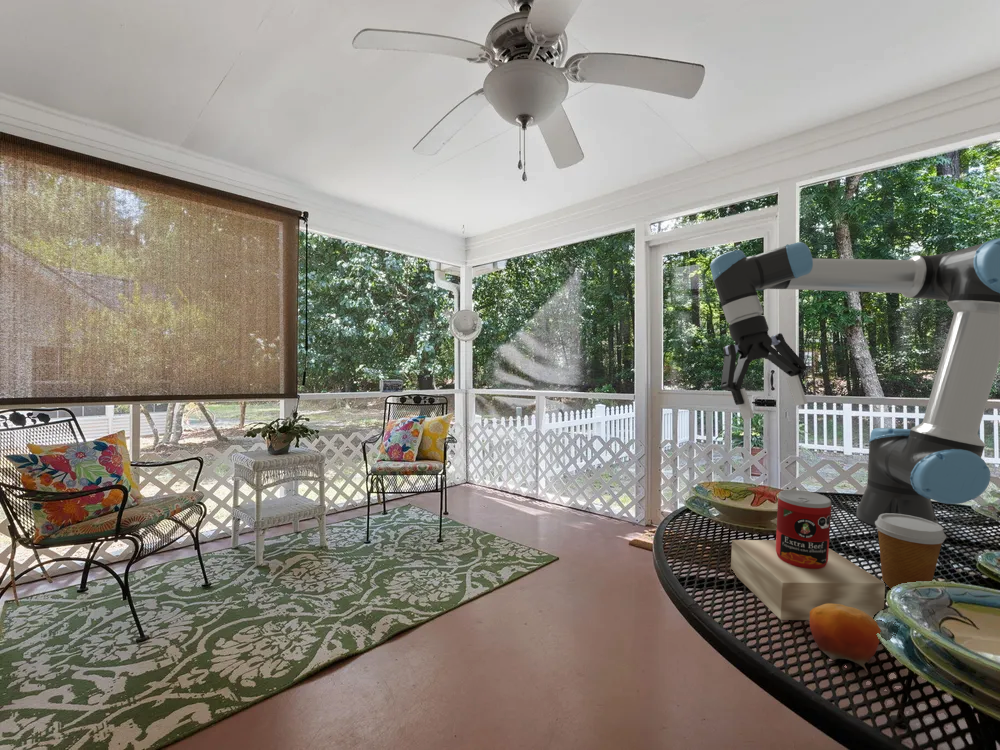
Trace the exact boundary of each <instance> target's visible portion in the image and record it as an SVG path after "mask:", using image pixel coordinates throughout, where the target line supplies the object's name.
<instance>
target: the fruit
mask: <svg viewBox="0 0 1000 750" xmlns="http://www.w3.org/2000/svg"><path fill="white" fill-rule="evenodd" d="M809 628H810V632H811V635H812V637H813V640H814V642H815V644H816V646H817V647H818V650H820V651H821V652H822V653H824V654H825V655H827V657H828V658H830V660H831V662H834V661H836V660H839V659H840V660H848V661H851V662H853V663H854V664H857V665H859V666H861V667H862V668H863V669H864V670H865V672H866V673H867V674H868V669H867V667H866V665H865V664H867V663H868V662H870V660H871V658H873V657H874V656H875V655H876V653H877V650H878V647H879V644H880V642H881V640H880V641H879V639H878V637H877V635H876V634H877V633H879V634H880V632H881V633H882V630H881V628H880V626H879V625H878V623H877V621H875V620H874V619H873V618H872V617H871V616H869V615H868V614H866V613H865V612H864V611H861V610H858V609H856V608H853V607H847V606H844V605H841V604H832V603H830V604H829V603H828V604H823V605H820V606H818V607H815V608H813V609H812V610H811V611H810V620H809Z"/></svg>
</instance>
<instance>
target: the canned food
mask: <svg viewBox="0 0 1000 750" xmlns="http://www.w3.org/2000/svg"><path fill="white" fill-rule="evenodd" d="M776 512H777V514H776V530H775V531H776V535H775V540H776V553H777V556H778V557H779V558H780V559H781V560H783V561H784V562H786V563H788V564H791V565H794V566H797V567H801V568H807V569H819V568H823V567H825V566H826V564H827V562H828V553H829V547H830V535H831V534H830V533H831V520H832V519H831V518H832V499H830V498H829V497H827V495H823V494H820V493H816V492H813V491H808V490H800V489H785V490H781V491H779V492H778V497H777V510H776Z"/></svg>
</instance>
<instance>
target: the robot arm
mask: <svg viewBox="0 0 1000 750" xmlns="http://www.w3.org/2000/svg"><path fill="white" fill-rule="evenodd" d="M709 268H710V271H711V276H712V282H713V284H714V286H715V289H716V292H717V295H718V297H719V300H720V305H721V309H722V311H723V314H724V317H725V320H726V323H727V324H730V325H728V330H729V333H730V335H731V339H732V341H734V343H735V344H732V343H731V344H728V345H726V346H723V348H722V351H723V354H724V358H723V359H724V360H723V366H722V375H721V384H720V389H721V390H727V392H731V394H732V398H733V400H734V404H735V406H738V408H739V410H740V414H741V417H742V420H748V419H749V420H750V419H753V418H755V415H754V413H753V410H752V406H751V403H750V400H749V397H748V394H747V391H746V388H745V387H744V388H742V385H743V383H744V380H745V377H746V375H747V372H748V369H749V367H750V364H751V363H752V362H753V361H757V360H762V359H765V360H768V361H769V362H771V363H772V364H773V365H775V366H776V367H777V368H779V369H780V370H781V371H783V372H784V373H785V374H787V376H788V377H786V378H785V379H786V381H787V384H788V388H789V391H790V393H791V396H792V399H793V403H794V406H795V407H797V406H801V405H802V406H803V405H808V401H807V398H806V395H805V392H804V389H805V385H804V382H803V379H802V376H801V375H802V374H804V371H806V370H807V368H808V367H807V365H806V364H805V363H804V361H803V360H802V359H801V358H800V357H799V356H798V354H797V353H796V352H795V351H794V350H793V349H792V347H790V345H789V344H788V343H787V341H786V340H785V337H784V336H783V334H782V333H780V332H779V333H777V334H774V335H772V336H770V335H769V325H768V323H767V320H766V319H767V318H766V316H765V315H762V314H763V313H764V310H763V307H762V305H761V304H762V303H761V301H760V298H759V295H758V292H757V291H765V290H800V291H801V290H803V291H804V290H805V291H828V292H829V291H830V292H831V291H832V292H857V293H858V292H862V293H890V294H891V293H892V294H893V293H894V294H901V295H903V297H905V298H907V299H923V300H925V299H927V300H936V301H945V302H946V305H947V306H948V307H949V309H950V310H952V312H953V315H952V319H951V323H950V326H949V329H948V333H947V337H946V341H945V343H944V347H943V351H942V354H941V358H940V360H939V364H938V369H937V372H936V373H935V374H936V375H935V378H934V382H933V385H932V387H931V392H930V395H929V398H928V399H929V400H928V401H927V402H928V403H927V405H926V410H925V412H924V415H923V420H922V422H921V423H920V424H917V425H915V426H913V427H911V428H910V429H909V428H890V427H888V428H887V427H876V428H873V429H872V430H871V432H870V437H869V440H868V444H869V445H868V461H867V463H868V464H867V466H868V467H867V469H868V470H867V483H866V487H865V488H866V489H865V491H864V492H863V495H862V497H861V499H860V501H859V503H858V505H857V507H856V518H857V519H859V520H860V521H861V522H864V523H865V524H868V525H870V526H874V527H876V525H875V521H876V520H877V519H878V517H879V515H880V514H885V513H894V514H904V515H910V516H915V517H919V518H923V519H926V520H929V521H932V522H935V523H937V524H939V520H938V518H937V516H936V513H935V509H934V505H933V503H932V501H936V502H938V503H941V504H947V505H960V504H964V503H968V502H969V501H972V500H975V499H977V498H978V497H980V496H981V495H982V494H983V493H984V492H985V491H986V490H987V488H988V487H989V485H990V482H991V470H990V467H989V466H988V465H987V463H986V461H985V460H984V459H983V458H982V456H983V453H984V449H985V447H986V444H985V443H984V442H983V440H982V439H981V438H980V436H979V435H978V433H979V429H980V426H981V423H982V419H983V417H984V414H985V410H986V407H987V402H988V400H989V397H990V394H991V391H992V387H993V384H994V380H995V378H996V377H995V376H996V374H997V371H998V367H999V365H1000V364H999V363H1000V238H999V237H998V238H994V239H991V240H987V241H986V242H983V243H979V244H976V245H973V246H969V247H965V248H961V249H957V250H954V251H949V252H944V253H939V254H931V255H914V256H911V257H910V258H908V259H875V258H874V259H873V258H869V259H867V258H866V259H864V258H861V259H860V258H816V257H813V255H812V252H811V250H810V248H809V246H808V245H807V244H806V243H804V242H803V241H798V242H793V243H790V244H785V245H783V246H780V247H778V248H774V249H770V250H768V251H764V252H762V253H758V254H756V255H755V254H754V255H752V256H751V255H750V256H747V255H745V253H744V251H743V250H740V249H736V250H731V251H727V252H724V253H723V254H720V255H718V256H716V257H715V258H713V259H712V260H711V262H710V265H709ZM772 345H773V346H772ZM737 353H738V354H739V356H738V359H737ZM736 362H737V365H736Z"/></svg>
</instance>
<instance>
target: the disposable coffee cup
mask: <svg viewBox="0 0 1000 750" xmlns="http://www.w3.org/2000/svg"><path fill="white" fill-rule="evenodd" d="M875 525H876V526H875V528H876V530H877V535H878V544H879V545H878V546H879V555H880V556H879V558H880V566H881V567H880V568H881V579H882V580H883V581H884V582H885V583H886V584H887V585H888V586H889V588H892V587H893V586H896V585H898V584H901V583H907V582H916V581H932V582H933V579H934V576H935V571H936V568H937V563H938V561H939V560H938V559H939V556H940V551H941V548H942V544H943V543H944V542H945V540H946V539H947V535H946V534H945V532H944V528H943V526H942V525H940V524H939V523H938V524H937V523H935V522H932V521H929V520H926V519H923V518H919V517H915V516H910V515H904V514H894V513H885V514H880V515H879V517H878V519H877V520H876V521H875ZM882 580H881V581H882ZM889 588H888V589H889Z"/></svg>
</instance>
